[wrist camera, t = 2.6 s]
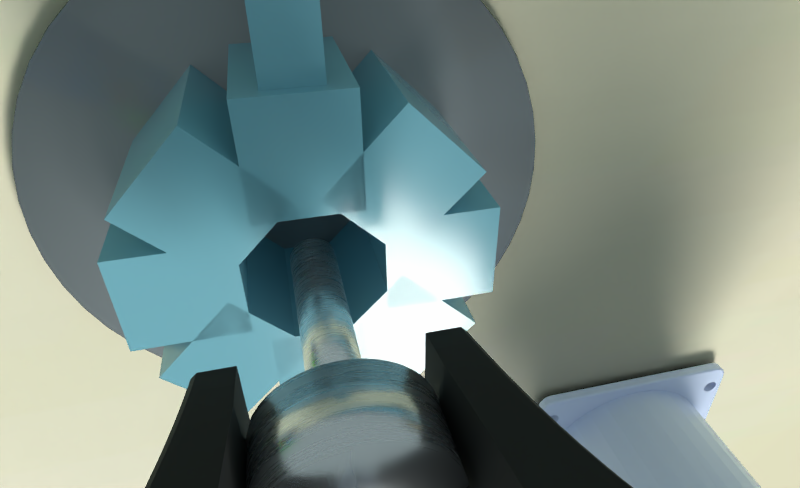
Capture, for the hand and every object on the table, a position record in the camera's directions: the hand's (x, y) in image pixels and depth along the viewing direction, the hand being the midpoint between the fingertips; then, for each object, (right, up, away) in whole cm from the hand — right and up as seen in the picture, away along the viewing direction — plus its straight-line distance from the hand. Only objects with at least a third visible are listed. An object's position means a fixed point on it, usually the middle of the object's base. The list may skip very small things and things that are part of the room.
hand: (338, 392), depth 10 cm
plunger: (-1, +2, +3) cm, 4 cm away
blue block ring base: (-2, +4, +6) cm, 7 cm away
